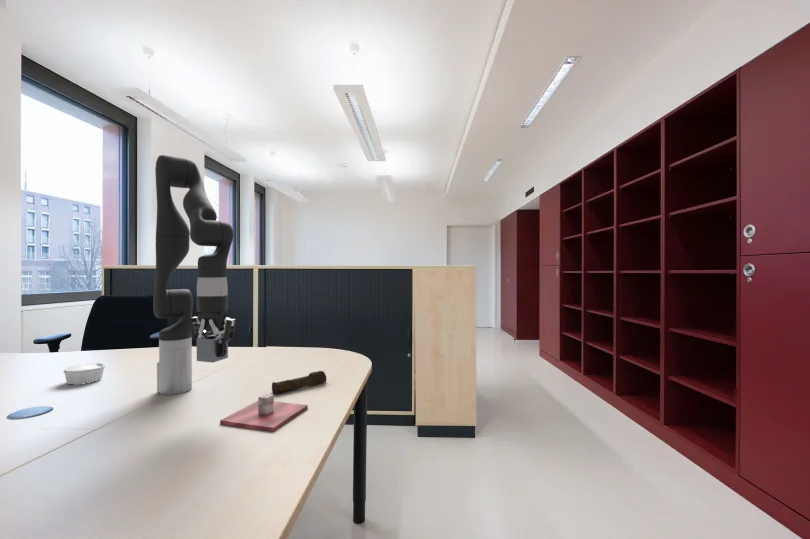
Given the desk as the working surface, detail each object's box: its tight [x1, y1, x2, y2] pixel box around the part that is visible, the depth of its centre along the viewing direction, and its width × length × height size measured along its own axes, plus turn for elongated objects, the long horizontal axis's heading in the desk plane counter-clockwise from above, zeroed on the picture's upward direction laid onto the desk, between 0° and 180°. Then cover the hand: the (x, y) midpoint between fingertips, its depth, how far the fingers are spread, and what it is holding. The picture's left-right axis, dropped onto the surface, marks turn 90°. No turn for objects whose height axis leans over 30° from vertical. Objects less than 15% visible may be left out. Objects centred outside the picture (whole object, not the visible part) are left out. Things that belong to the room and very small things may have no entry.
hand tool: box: [271, 370, 327, 395], centre depth 129 cm, size 19×4×5 cm, turn 128°
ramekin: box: [63, 362, 106, 385], centre depth 137 cm, size 11×11×5 cm
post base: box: [219, 393, 309, 433], centre depth 105 cm, size 16×16×6 cm
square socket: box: [196, 334, 229, 363], centre depth 105 cm, size 5×5×6 cm
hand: (212, 355), depth 105 cm, fingers closed on square socket, 5 cm apart
